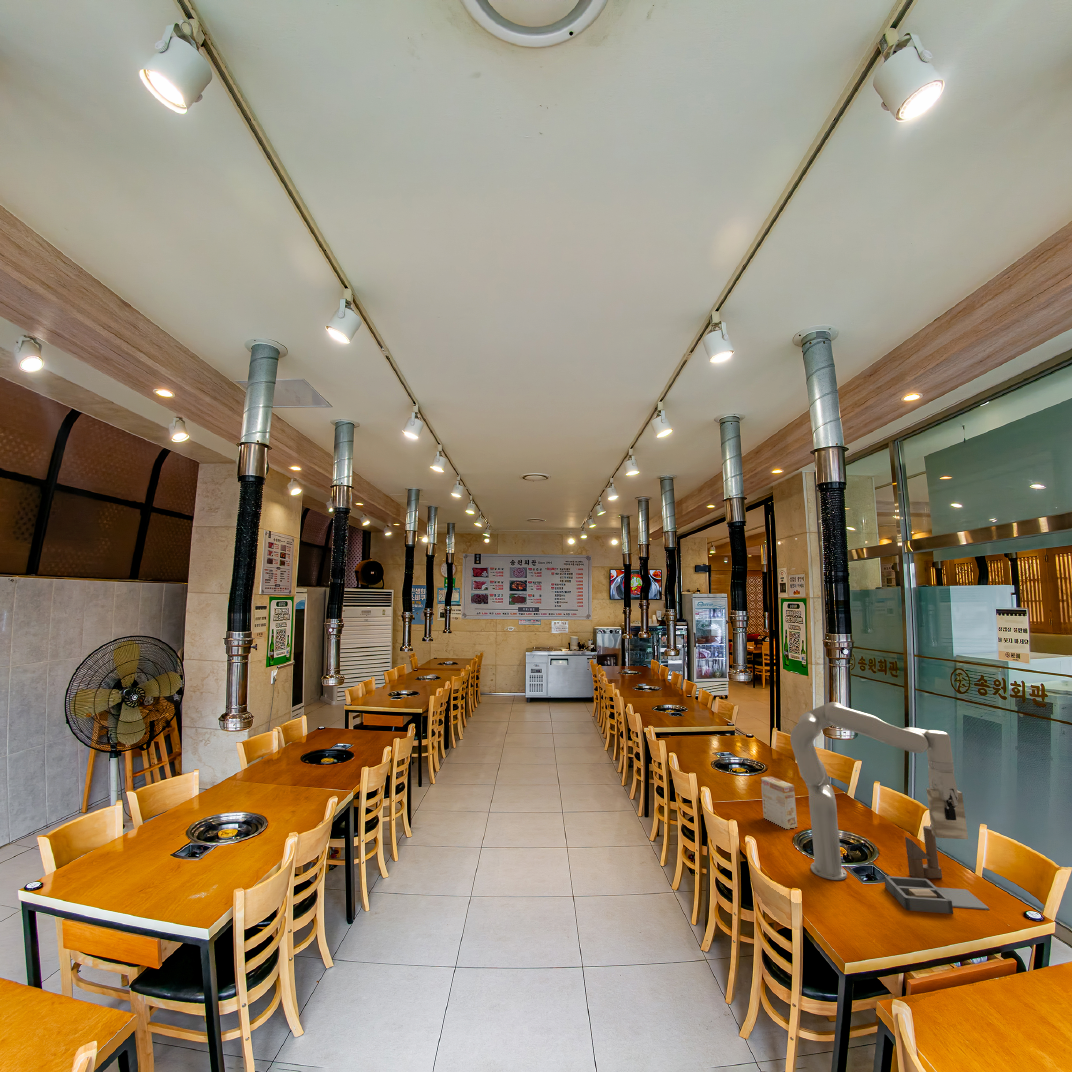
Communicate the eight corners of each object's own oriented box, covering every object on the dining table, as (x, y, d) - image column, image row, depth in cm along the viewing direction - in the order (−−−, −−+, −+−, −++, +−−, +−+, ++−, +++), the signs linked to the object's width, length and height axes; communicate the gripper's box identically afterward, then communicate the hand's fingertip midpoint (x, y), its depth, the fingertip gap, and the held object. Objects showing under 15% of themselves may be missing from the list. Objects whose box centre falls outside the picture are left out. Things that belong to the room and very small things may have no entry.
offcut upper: (909, 896, 182) (908, 888, 182) (929, 896, 181) (929, 889, 182) (917, 902, 178) (916, 895, 178) (937, 903, 177) (937, 895, 178)
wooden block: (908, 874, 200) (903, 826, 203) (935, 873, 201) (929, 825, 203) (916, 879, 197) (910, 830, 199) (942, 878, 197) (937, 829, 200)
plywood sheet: (931, 833, 189) (926, 788, 192) (961, 835, 188) (956, 789, 190) (937, 837, 186) (931, 791, 188) (968, 839, 184) (962, 792, 187)
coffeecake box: (798, 827, 244) (794, 785, 246) (786, 830, 241) (783, 786, 244) (774, 816, 258) (771, 775, 260) (763, 818, 255) (760, 777, 258)
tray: (885, 887, 192) (884, 875, 192) (928, 890, 189) (926, 878, 190) (906, 910, 177) (905, 897, 178) (953, 913, 175) (951, 901, 175)
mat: (927, 888, 191) (927, 886, 191) (966, 890, 188) (966, 889, 188) (947, 906, 179) (947, 905, 179) (989, 909, 177) (989, 908, 177)
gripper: (917, 758, 199) (923, 808, 197) (943, 772, 183) (950, 826, 180) (938, 759, 198) (944, 809, 195) (966, 772, 182) (973, 827, 179)
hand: (947, 816), depth 188 cm, fingers closed on plywood sheet, 3 cm apart
